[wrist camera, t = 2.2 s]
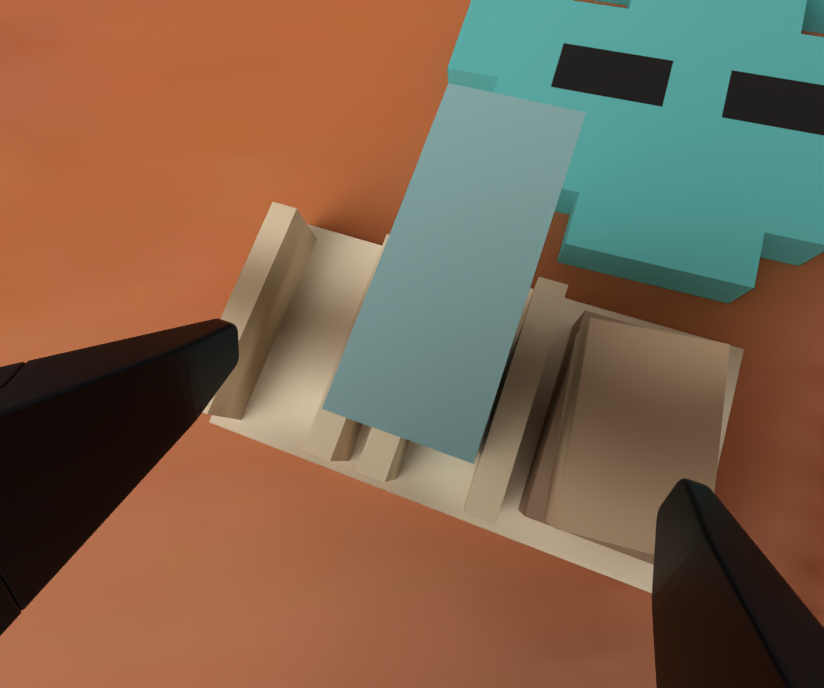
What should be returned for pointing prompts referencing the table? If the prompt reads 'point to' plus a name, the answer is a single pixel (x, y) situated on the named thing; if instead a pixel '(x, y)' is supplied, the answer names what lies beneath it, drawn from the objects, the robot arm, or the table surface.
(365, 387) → the teal panel
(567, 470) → the upper oak offcut
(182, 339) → the robot arm
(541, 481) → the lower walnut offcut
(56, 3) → the table surface
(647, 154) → the alien figure
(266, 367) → the birch rack
